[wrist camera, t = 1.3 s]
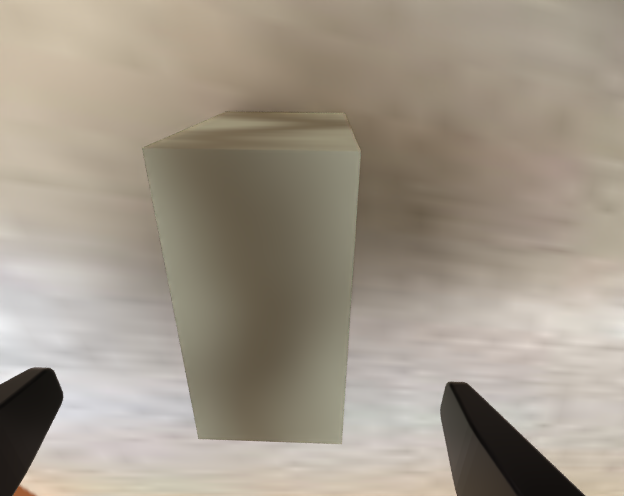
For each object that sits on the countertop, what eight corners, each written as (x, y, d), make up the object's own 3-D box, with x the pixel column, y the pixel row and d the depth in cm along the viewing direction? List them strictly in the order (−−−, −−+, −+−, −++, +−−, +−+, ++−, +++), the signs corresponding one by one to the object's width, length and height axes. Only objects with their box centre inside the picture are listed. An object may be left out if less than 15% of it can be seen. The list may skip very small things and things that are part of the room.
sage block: (344, 112, 15) (360, 151, 8) (335, 308, 20) (341, 444, 13) (227, 111, 16) (142, 148, 8) (244, 305, 20) (198, 438, 13)
